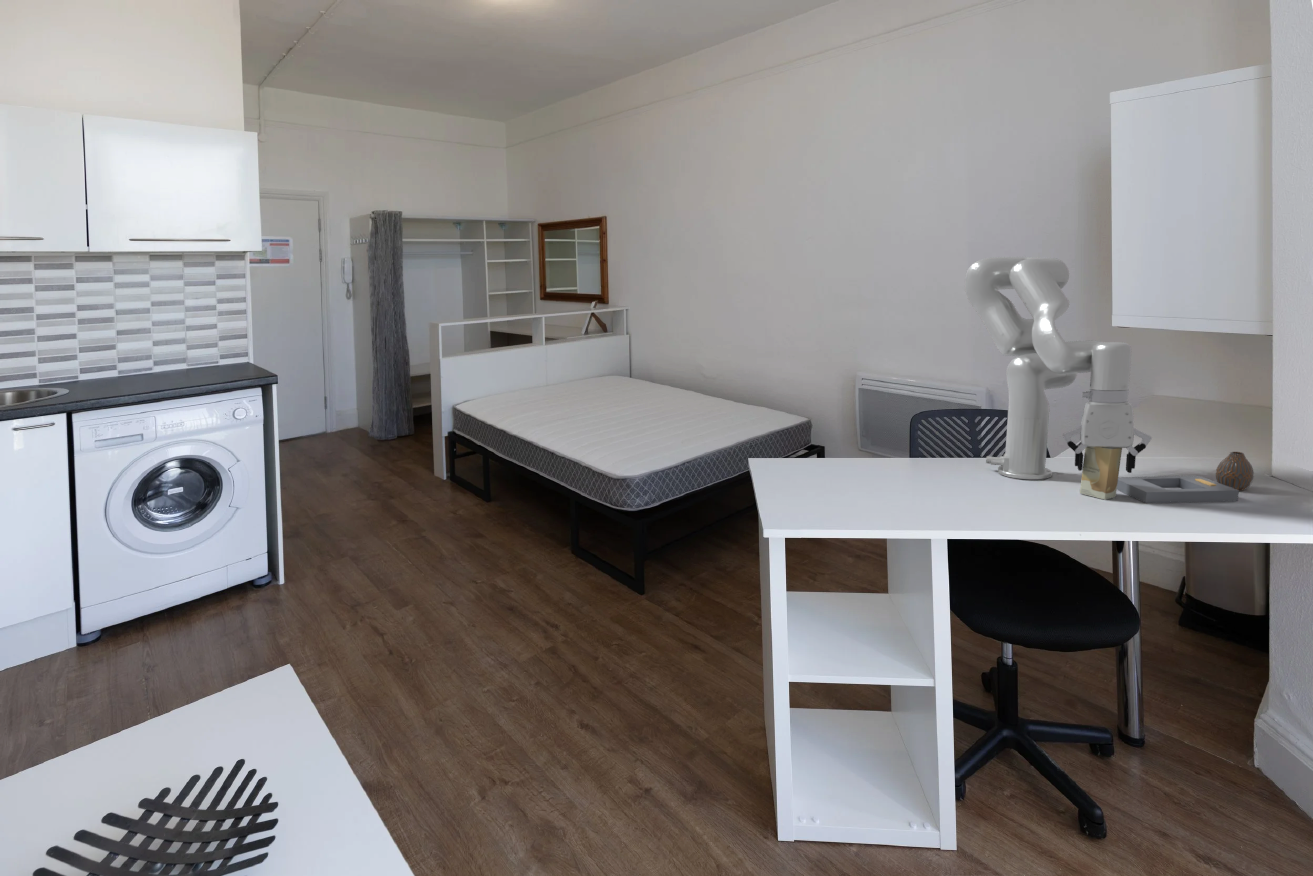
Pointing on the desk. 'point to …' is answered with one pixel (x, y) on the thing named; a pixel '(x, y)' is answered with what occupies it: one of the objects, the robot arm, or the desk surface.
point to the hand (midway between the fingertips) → (1103, 470)
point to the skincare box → (1100, 472)
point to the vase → (1235, 471)
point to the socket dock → (1176, 489)
